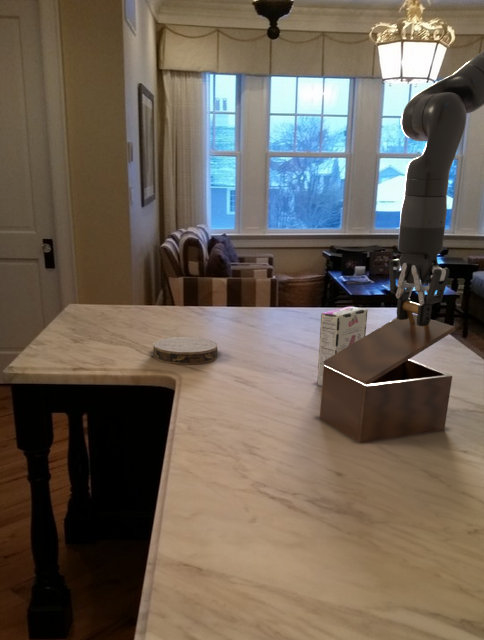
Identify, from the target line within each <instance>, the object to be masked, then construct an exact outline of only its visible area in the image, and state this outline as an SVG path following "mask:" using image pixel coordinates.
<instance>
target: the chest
mask: <svg viewBox="0 0 484 640" xmlns="http://www.w3.org/2000/svg"><path fill="white" fill-rule="evenodd" d="M452 381H453V375H452V374H449V373H446V372H443V371H441V370H439V369H436V368H433V367H431V366H429V365H426V364H423V363H421V362H418V361H417V360H413V359H411V358H410V359H409V360H407V361H405V362H404V363H402V364H401V365H399V366H397V367H396V368H394V369H393V370H391V371H389V372H388V373H386V374H384V375H383V376H381V377H380V378H378V379H376V380H375V381H373V382H372V383H370V384H368V385H365V384H363V383H361V382H359V381H357V380H355V379H353V378H351V377H348V376H346V375H344V374H342V373H340V372H338V371H336V370H334V369H332V368H330V367H328V366H324V369H323V381H322V386H321V395H320V408H319V420H322V421H324V422H325V423H326V424H329V425H330V426H332V427H333V428H335V429H337V430H338V431H340V432H342V433H343V434H344V435H346V436H348V437H350V438H352V439H353V440H354V441H356V442H358V443H359V444H362V443H369V442H374V441H381V440H387V439H393V438H400V437H406V436H407V437H408V436H413V435H419V434H420V435H421V434H425V433H432V432H438V431H445V428H446V421H447V417H448V416H447V414H448V408H449V401H450V396H451V388H452Z"/></svg>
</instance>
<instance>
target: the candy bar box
mask: <svg viewBox="0 0 484 640" xmlns="http://www.w3.org/2000/svg"><path fill="white" fill-rule="evenodd" d="M368 310H369V309H367V308H363V307H357V306H346V307H343V308H339V309H333V310H329V311H326V312H322V313H321V314H320V329H319V330H320V331H319V347H318V349H319V350H318V365H317V382H316V385H317V386H320V387H322V381H323V369H324V366H326V365H324V362H323V361H325V360H326V359H328V358H330V357H331V356H333V355H335V354H336V353H338V352H340V351H341V350H343V349H345V348H346V347H348V346H350V345H351V344H353V343H355V342H356V341H358V340H360V339H361V338H363V337H365V336H366V335H367V334H366V333H367V322H368Z"/></svg>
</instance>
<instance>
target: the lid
mask: <svg viewBox="0 0 484 640" xmlns="http://www.w3.org/2000/svg"><path fill="white" fill-rule="evenodd" d="M418 305H420V303H419V302H418V303H417V302H414V301H405V302H404V303H403V305H402V308H403V310H405V311H407V314H408V319H405V320H399V319H397V316H396V317H394V318H393V319H391V320H389V321H388V322H386V323H384V324H383V325H381V326H380V327H378V328H377V329H374V330H373V331H371V332H370V333H368V334H366V335H365V337H363V338H361V339H360V340H358V341H356V342H355V343H353V344H351V345H350V346H348V347H346V348H345V349H343V350H341V351H340V352H338V353H336V354H335V355H333V356H331V357H330V358H328V359H326V360H325V361H323V362H324V365H326V366H328V367H330V368H332V369H334V370H336V371H338V372H340V373H342V374H344V375H346V376H348V377H351V378H353V379H355V380H357V381H359V382H361V383H363V384H365V385H368V384H370V383H372V382H373V381H375V380H376V379H378V378H380V377H381V376H383V375H384V374H386V373H388V372H389V371H391V370H393V369H394V368H396V367H397V366H399V365H401V364H402V363H404V362H405V361H407V360H409V359H410V360H411V359H412V358H413V357H415V356H417V355H418V354H420V353H422V352H423V351H425V350H426V349H428V348H429V347H431V346H433V345H435V344H436V343H438V342H439V341H441V340H443V339H445V338H446V337H447V336H449V335H451V334H452V333H454V332H455V331H456V326H454V325H450V324H448V323H444V322H441V321H438V320H434V319H430V322H429V324H428V325H427V326H418V325H417V315H418Z"/></svg>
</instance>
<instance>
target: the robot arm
mask: <svg viewBox="0 0 484 640" xmlns="http://www.w3.org/2000/svg"><path fill="white" fill-rule="evenodd" d="M483 106H484V50H482V51H481V52H479V53H478V54H477V55H475V56H474V57H473V58H471V59H470V60H468V62H466V63H465V64H464V65H462V66H461V67H460V68H459V69H458V70H456V71H455V72H453V74H451V75H449V76H447V77H445V78H443V79H440V80H439V81H437V82H435V83H433V84H432V85H430V86H428V87H426V88H424V89H422V90H421V91H420V92H418V93H416V94H415V95H413V97H412V98H411V99H410V100H409V101H408V102H407V104H406V105H405V107H404V109H403V111H402V114H401V118H400V125H401V129H402V132H403V134H404V135H405V136H406V137H407V138H408V139H410V140H412V141H416V142H426V143H425V147H424V149H423V152H422V154H421V155H420V156H417V157H415V158H412V159H411V160H410V161H409V162H408V164H407V166H406V172H405V180H404V182H405V183H404V192H403V198H402V199H403V200H402V203H401V209H400V218H399V219H400V220H399V228H398V240H397V241H398V242H397V250H398V252H399V253H401V255H400V258H396V259H389V262H388V270H389V271H388V273H389V274H388V275H389V291H390V294H394V295H395V298H396V299H397V304H396V317H397V319H399V320H405V319H408V314H407V311H405V310H403V308H402V305H403V303H404V302H405V301H411V300H412V298H410V297H411V295H412V293H413V291H414V290H415V292H416V293H417V296H418V304H420V305H418V314H416V315H417V325H418V326H427V325H428V324H429V322H430V319H431V316H432V310H433V305H434V304H437V303H441V302H442V301H443V298H444V294H445V292H446V287H447V285H448V284H447V283H448V281H449V277H450V272H451V271H450V269H449V268H448V267H445V268H442V267H441V266H439V262H438V255H439V254H441V253H442V252H443V246H444V239H445V229H446V222H447V212H448V202H447V201H448V190H449V180H450V171H451V168H452V165H453V164H454V160H455V158H456V155H457V152H458V149H459V146H460V143H461V140H462V138H463V135H464V132H465V129H466V124H467V114H471V113H473V112H476V111H478V110H479V109H480V108H482V107H483ZM397 280H398V281H397ZM411 302H412V301H411ZM431 320H432V319H431Z"/></svg>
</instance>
